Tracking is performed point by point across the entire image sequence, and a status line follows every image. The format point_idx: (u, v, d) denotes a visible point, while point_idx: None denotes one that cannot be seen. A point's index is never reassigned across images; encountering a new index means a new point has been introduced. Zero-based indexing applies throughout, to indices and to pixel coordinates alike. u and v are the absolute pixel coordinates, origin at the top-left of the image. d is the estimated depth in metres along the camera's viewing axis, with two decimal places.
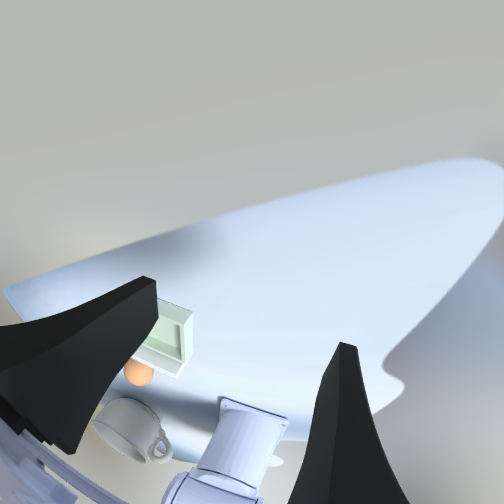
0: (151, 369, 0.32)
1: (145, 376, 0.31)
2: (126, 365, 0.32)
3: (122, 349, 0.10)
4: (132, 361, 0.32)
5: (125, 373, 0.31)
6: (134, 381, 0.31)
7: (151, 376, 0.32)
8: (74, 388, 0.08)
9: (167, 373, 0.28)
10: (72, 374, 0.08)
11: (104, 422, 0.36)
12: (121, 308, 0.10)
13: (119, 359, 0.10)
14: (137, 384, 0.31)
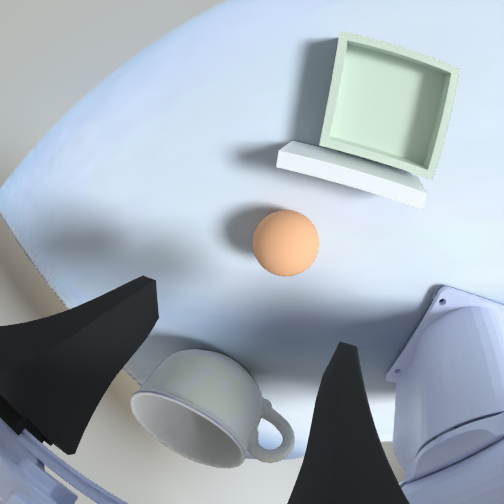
0: None
1: (313, 243, 0.16)
2: (268, 222, 0.16)
3: (122, 349, 0.10)
4: (282, 213, 0.16)
5: (266, 240, 0.16)
6: (289, 255, 0.15)
7: (317, 250, 0.17)
8: (74, 388, 0.08)
9: (405, 196, 0.12)
10: (72, 374, 0.08)
11: (166, 392, 0.20)
12: (121, 308, 0.10)
13: (119, 359, 0.10)
14: (293, 263, 0.16)
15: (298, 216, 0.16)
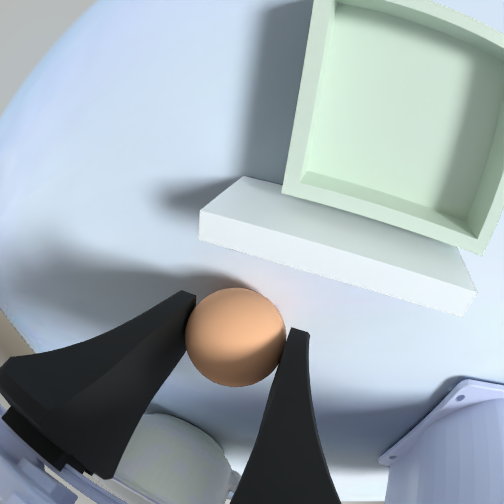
0: (284, 326, 0.11)
1: (273, 350, 0.10)
2: (202, 316, 0.10)
3: (162, 368, 0.10)
4: (225, 300, 0.10)
5: (197, 345, 0.10)
6: (233, 371, 0.09)
7: None
8: (117, 415, 0.07)
9: (436, 298, 0.06)
10: (116, 401, 0.07)
11: None
12: (164, 327, 0.09)
13: (158, 379, 0.10)
14: (241, 380, 0.09)
15: (250, 306, 0.10)
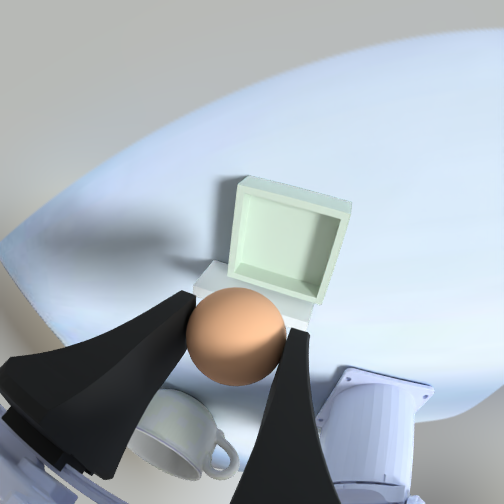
0: (284, 326, 0.11)
1: (275, 349, 0.10)
2: (204, 316, 0.10)
3: (162, 368, 0.10)
4: (227, 300, 0.10)
5: (200, 345, 0.10)
6: (236, 371, 0.09)
7: None
8: (117, 415, 0.07)
9: (290, 323, 0.17)
10: (116, 401, 0.07)
11: (138, 425, 0.25)
12: (164, 327, 0.09)
13: (158, 379, 0.10)
14: (243, 379, 0.10)
15: (253, 306, 0.10)
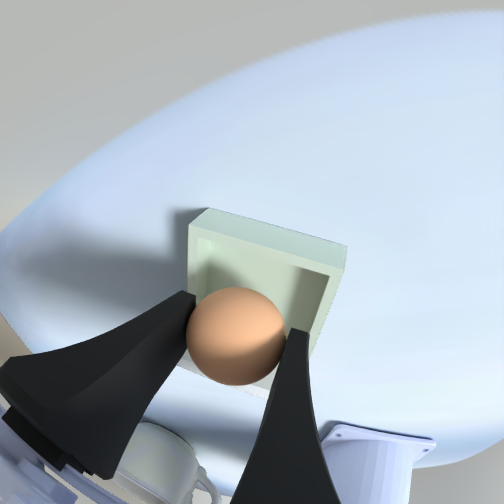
0: (284, 325, 0.11)
1: (275, 349, 0.10)
2: (204, 316, 0.10)
3: (162, 368, 0.10)
4: (227, 300, 0.10)
5: (200, 345, 0.10)
6: (236, 371, 0.09)
7: None
8: (117, 415, 0.07)
9: (263, 394, 0.13)
10: (116, 401, 0.07)
11: None
12: (164, 327, 0.09)
13: (158, 379, 0.10)
14: (243, 379, 0.10)
15: (253, 305, 0.10)
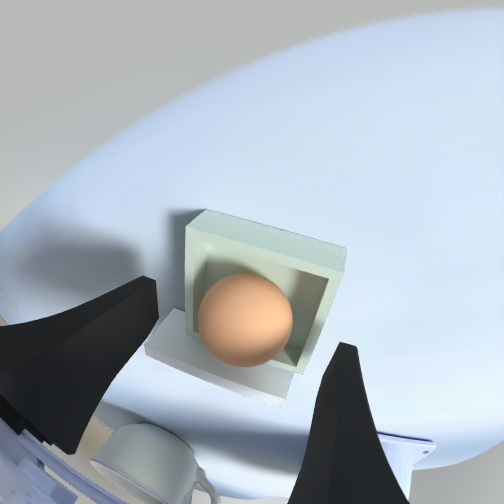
0: None
1: (283, 330, 0.10)
2: (216, 299, 0.11)
3: (122, 349, 0.10)
4: (238, 284, 0.11)
5: (212, 327, 0.10)
6: (247, 351, 0.10)
7: (290, 331, 0.11)
8: (74, 388, 0.08)
9: (261, 397, 0.13)
10: (72, 374, 0.08)
11: (111, 465, 0.20)
12: (121, 308, 0.10)
13: (119, 359, 0.10)
14: (253, 359, 0.10)
15: (262, 289, 0.11)
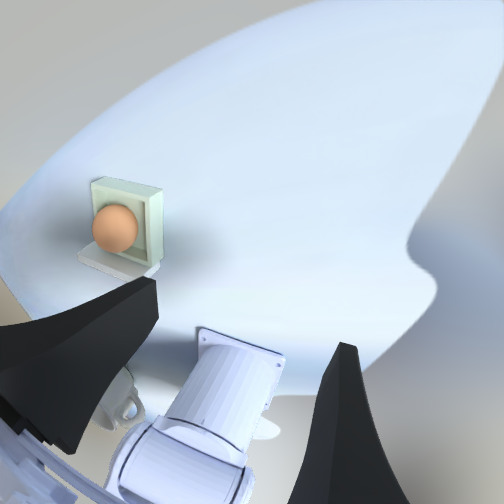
0: (135, 222, 0.21)
1: (124, 228, 0.20)
2: (98, 213, 0.20)
3: (122, 349, 0.10)
4: (108, 206, 0.21)
5: (94, 226, 0.20)
6: (106, 236, 0.20)
7: (134, 233, 0.21)
8: (74, 388, 0.08)
9: (129, 280, 0.23)
10: (72, 374, 0.08)
11: None
12: (121, 308, 0.10)
13: (119, 359, 0.10)
14: (110, 242, 0.20)
15: (117, 208, 0.21)
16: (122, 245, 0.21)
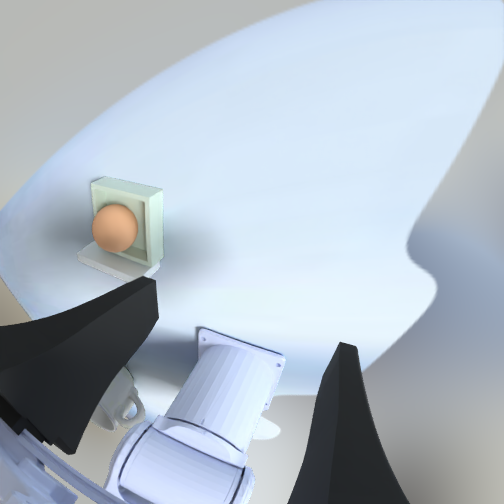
0: (135, 222, 0.21)
1: (124, 227, 0.20)
2: (98, 213, 0.20)
3: (122, 349, 0.10)
4: (108, 206, 0.21)
5: (94, 225, 0.20)
6: (106, 235, 0.20)
7: (134, 233, 0.21)
8: (74, 388, 0.08)
9: (129, 280, 0.23)
10: (72, 374, 0.08)
11: None
12: (121, 308, 0.10)
13: (119, 359, 0.10)
14: (110, 241, 0.20)
15: (117, 208, 0.21)
16: (122, 245, 0.21)
